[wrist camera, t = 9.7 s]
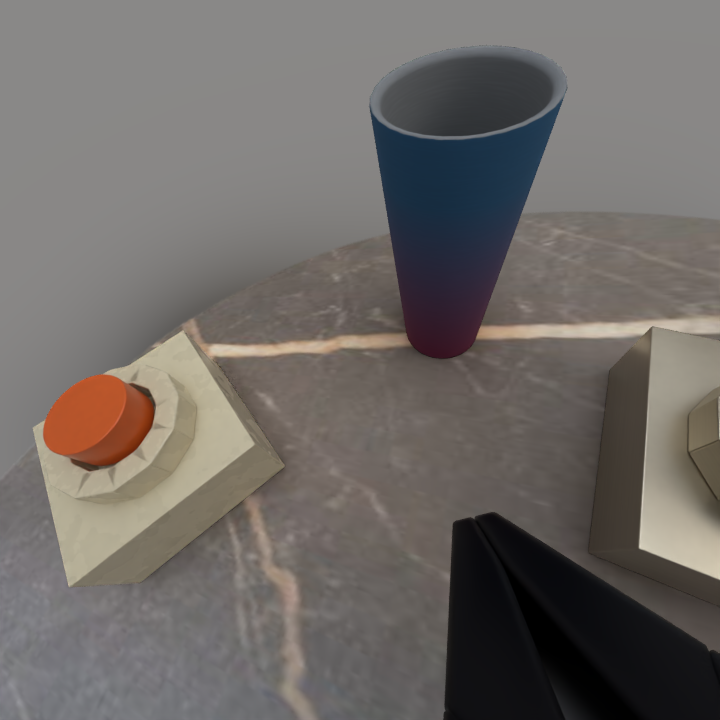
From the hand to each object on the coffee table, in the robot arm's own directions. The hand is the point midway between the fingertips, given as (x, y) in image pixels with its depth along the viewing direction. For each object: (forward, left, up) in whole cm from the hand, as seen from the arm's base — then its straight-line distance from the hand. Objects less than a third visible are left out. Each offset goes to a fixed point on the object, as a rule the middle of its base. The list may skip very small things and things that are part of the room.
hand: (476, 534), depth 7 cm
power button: (+3, +17, -7) cm, 18 cm away
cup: (+14, +1, -13) cm, 20 cm away
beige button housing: (+3, +17, -13) cm, 22 cm away
